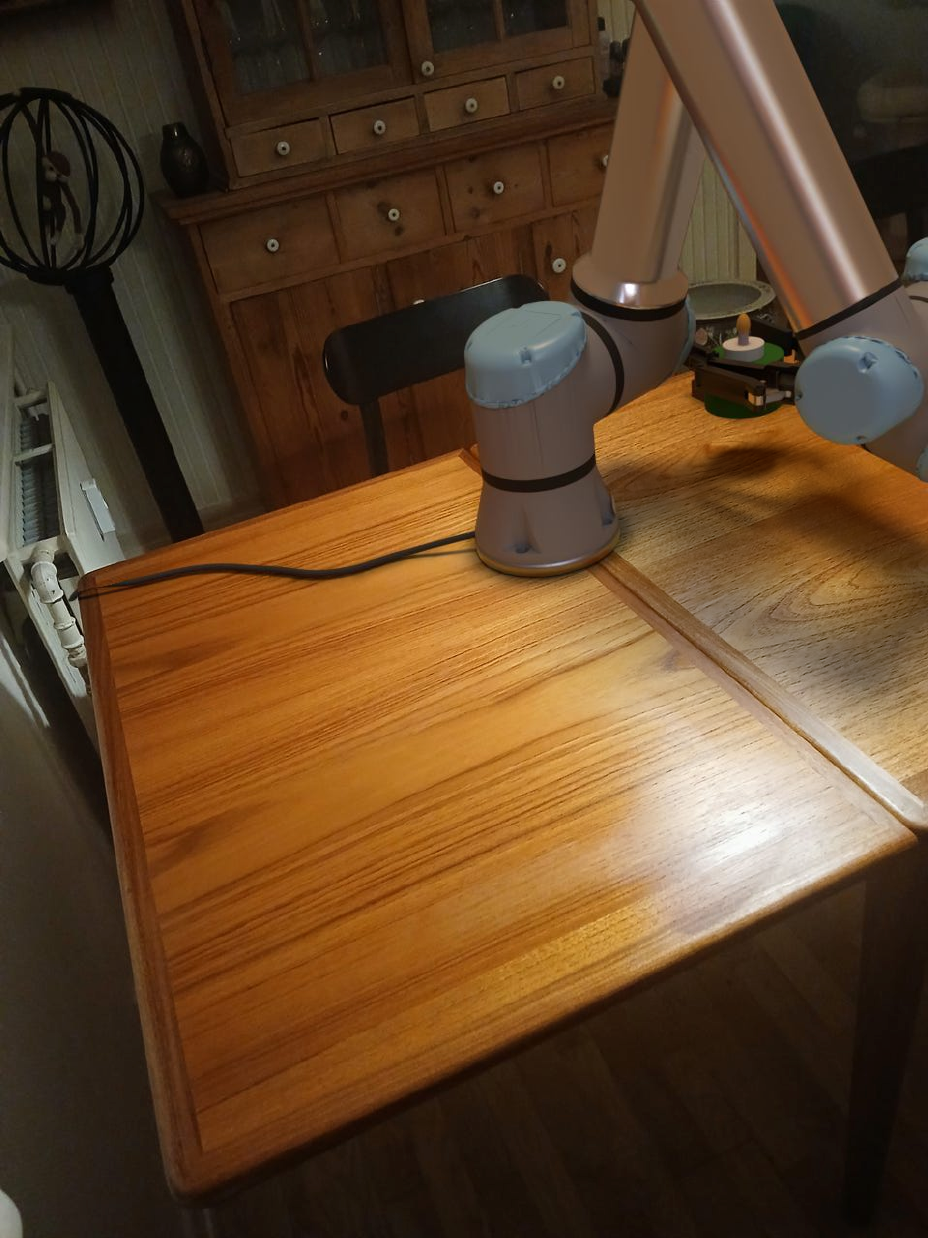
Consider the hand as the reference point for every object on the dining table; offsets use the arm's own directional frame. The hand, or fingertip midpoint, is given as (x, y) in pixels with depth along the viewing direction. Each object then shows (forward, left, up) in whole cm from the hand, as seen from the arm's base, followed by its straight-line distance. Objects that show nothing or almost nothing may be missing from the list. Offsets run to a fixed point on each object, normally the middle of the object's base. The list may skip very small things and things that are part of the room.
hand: (718, 340), depth 105 cm
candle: (0, -5, -6) cm, 8 cm away
